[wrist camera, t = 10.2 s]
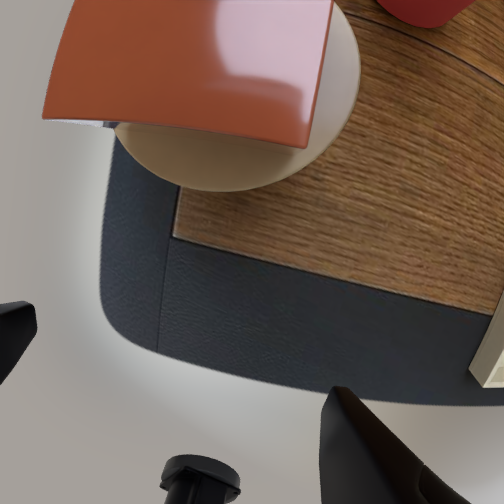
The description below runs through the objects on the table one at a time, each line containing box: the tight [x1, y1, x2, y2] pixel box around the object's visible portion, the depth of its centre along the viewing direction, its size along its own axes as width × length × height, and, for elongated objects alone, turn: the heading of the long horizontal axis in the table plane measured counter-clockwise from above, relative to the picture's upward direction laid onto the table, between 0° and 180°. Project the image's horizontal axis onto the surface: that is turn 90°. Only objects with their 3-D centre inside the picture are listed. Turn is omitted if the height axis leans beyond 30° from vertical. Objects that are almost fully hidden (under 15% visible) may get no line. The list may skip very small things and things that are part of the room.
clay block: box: [42, 0, 334, 156], centre depth 5 cm, size 4×4×4 cm
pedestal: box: [114, 2, 361, 192], centre depth 12 cm, size 7×7×12 cm
